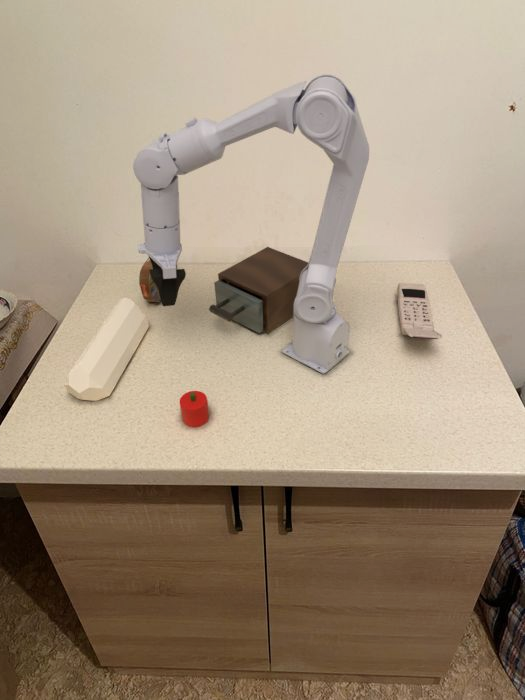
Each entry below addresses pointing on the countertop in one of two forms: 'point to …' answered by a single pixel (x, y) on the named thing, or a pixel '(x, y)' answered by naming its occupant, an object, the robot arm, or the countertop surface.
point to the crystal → (108, 353)
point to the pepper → (194, 408)
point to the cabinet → (269, 283)
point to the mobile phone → (415, 311)
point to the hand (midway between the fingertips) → (165, 292)
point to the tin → (148, 283)
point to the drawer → (238, 305)
